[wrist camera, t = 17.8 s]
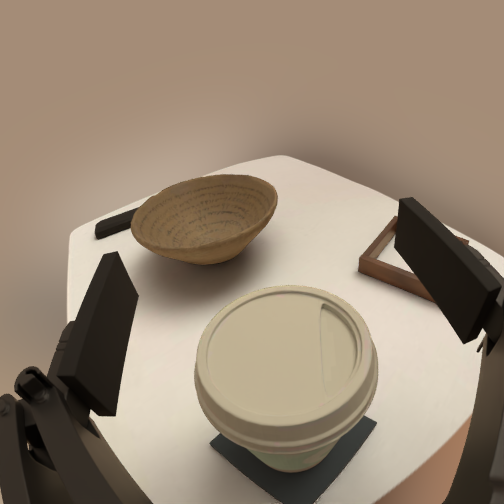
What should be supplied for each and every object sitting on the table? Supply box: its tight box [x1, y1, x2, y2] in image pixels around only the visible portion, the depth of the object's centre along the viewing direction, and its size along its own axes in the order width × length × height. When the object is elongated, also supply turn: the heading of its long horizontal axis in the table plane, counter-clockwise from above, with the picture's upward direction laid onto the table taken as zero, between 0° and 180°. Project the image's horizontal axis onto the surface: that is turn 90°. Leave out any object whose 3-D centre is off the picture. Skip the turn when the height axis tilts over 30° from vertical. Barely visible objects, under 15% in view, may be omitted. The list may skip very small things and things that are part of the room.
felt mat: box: [209, 415, 377, 504], centre depth 19 cm, size 9×9×1 cm
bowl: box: [131, 174, 278, 265], centre depth 39 cm, size 18×18×8 cm
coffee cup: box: [194, 285, 378, 473], centre depth 16 cm, size 8×9×12 cm
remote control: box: [95, 207, 139, 239], centre depth 53 cm, size 5×2×15 cm
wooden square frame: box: [358, 216, 469, 303], centre depth 33 cm, size 11×11×2 cm
